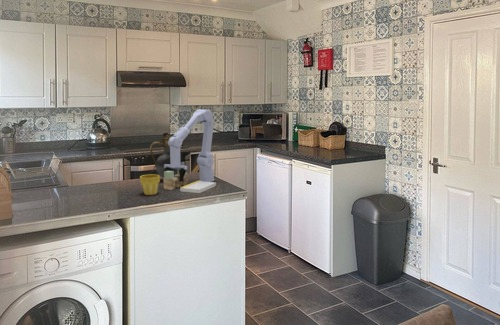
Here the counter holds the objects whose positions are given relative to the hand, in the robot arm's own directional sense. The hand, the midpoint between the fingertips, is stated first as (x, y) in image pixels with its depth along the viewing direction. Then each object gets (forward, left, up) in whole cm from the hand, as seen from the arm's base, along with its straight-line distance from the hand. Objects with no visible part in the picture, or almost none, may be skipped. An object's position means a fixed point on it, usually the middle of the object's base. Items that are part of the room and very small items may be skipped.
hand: (175, 180), depth 248 cm
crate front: (+7, 0, +3) cm, 7 cm away
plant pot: (+21, -3, -4) cm, 21 cm away
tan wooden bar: (0, 0, -3) cm, 3 cm away
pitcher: (-12, -14, -4) cm, 19 cm away
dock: (0, +15, -3) cm, 15 cm away
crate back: (-7, 0, +3) cm, 8 cm away
